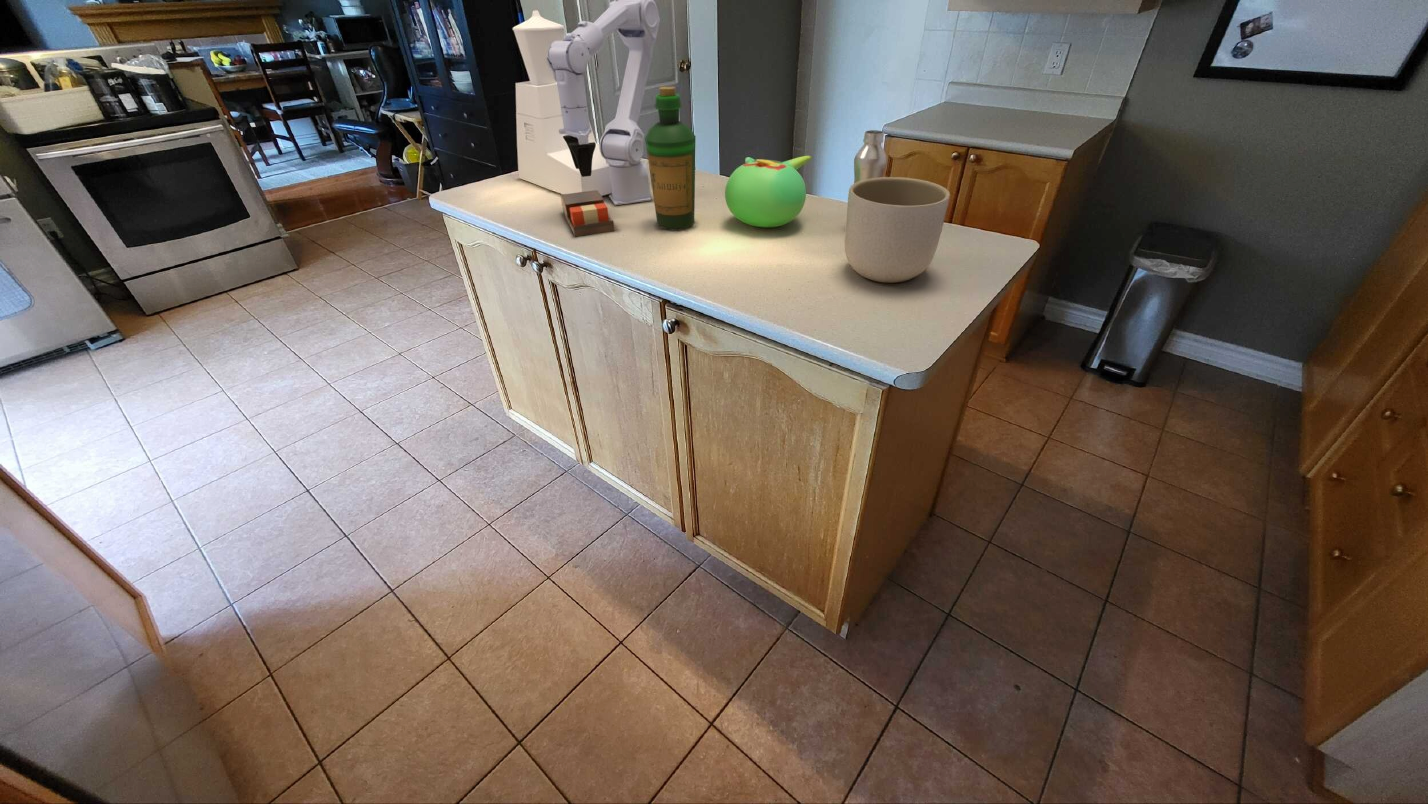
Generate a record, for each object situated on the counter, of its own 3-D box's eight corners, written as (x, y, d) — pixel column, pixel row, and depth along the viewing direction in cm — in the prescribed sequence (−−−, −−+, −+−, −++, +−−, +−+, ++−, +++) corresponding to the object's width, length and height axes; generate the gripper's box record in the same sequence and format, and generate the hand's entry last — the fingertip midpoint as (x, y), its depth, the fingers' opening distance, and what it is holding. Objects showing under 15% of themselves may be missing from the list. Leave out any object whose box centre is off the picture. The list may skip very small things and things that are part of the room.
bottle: (643, 228, 130) (630, 90, 113) (668, 214, 137) (658, 82, 120) (684, 236, 126) (676, 93, 109) (707, 220, 133) (703, 85, 116)
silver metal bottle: (877, 235, 123) (892, 136, 111) (845, 234, 124) (857, 135, 112) (876, 225, 128) (891, 129, 116) (846, 223, 129) (857, 128, 117)
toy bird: (714, 231, 128) (712, 162, 119) (743, 208, 140) (743, 144, 131) (790, 242, 121) (794, 170, 112) (813, 217, 133) (819, 150, 125)
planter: (874, 247, 118) (886, 171, 109) (949, 272, 108) (969, 190, 98) (821, 271, 109) (829, 191, 100) (897, 301, 99) (914, 213, 90)
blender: (640, 187, 155) (622, 10, 131) (583, 204, 145) (552, 15, 121) (573, 166, 174) (547, 7, 150) (519, 179, 164) (481, 12, 140)
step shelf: (599, 208, 142) (597, 190, 139) (614, 230, 129) (612, 211, 126) (563, 213, 140) (560, 194, 137) (575, 236, 127) (571, 216, 124)
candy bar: (606, 216, 132) (604, 202, 130) (609, 221, 130) (607, 207, 128) (571, 221, 130) (569, 207, 128) (574, 226, 128) (571, 212, 126)
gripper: (550, 102, 127) (561, 166, 135) (560, 113, 116) (570, 181, 124) (582, 100, 129) (590, 163, 137) (594, 110, 118) (602, 178, 126)
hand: (583, 172), depth 131 cm, fingers open, 7 cm apart
